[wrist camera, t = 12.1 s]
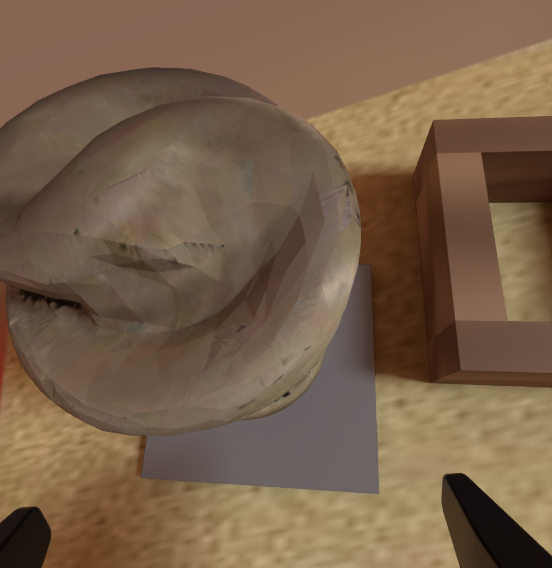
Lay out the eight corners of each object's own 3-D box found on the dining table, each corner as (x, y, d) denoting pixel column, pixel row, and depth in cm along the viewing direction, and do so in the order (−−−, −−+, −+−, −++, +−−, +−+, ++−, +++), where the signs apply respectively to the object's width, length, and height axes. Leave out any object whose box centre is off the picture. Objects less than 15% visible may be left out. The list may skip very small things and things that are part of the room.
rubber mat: (377, 492, 16) (379, 493, 16) (145, 476, 18) (140, 477, 17) (369, 268, 20) (370, 264, 19) (176, 267, 21) (172, 263, 20)
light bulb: (355, 370, 18) (508, 142, 4) (265, 461, 17) (11, 614, 3) (270, 286, 19) (155, -85, 5) (184, 363, 19) (-221, 155, 5)
